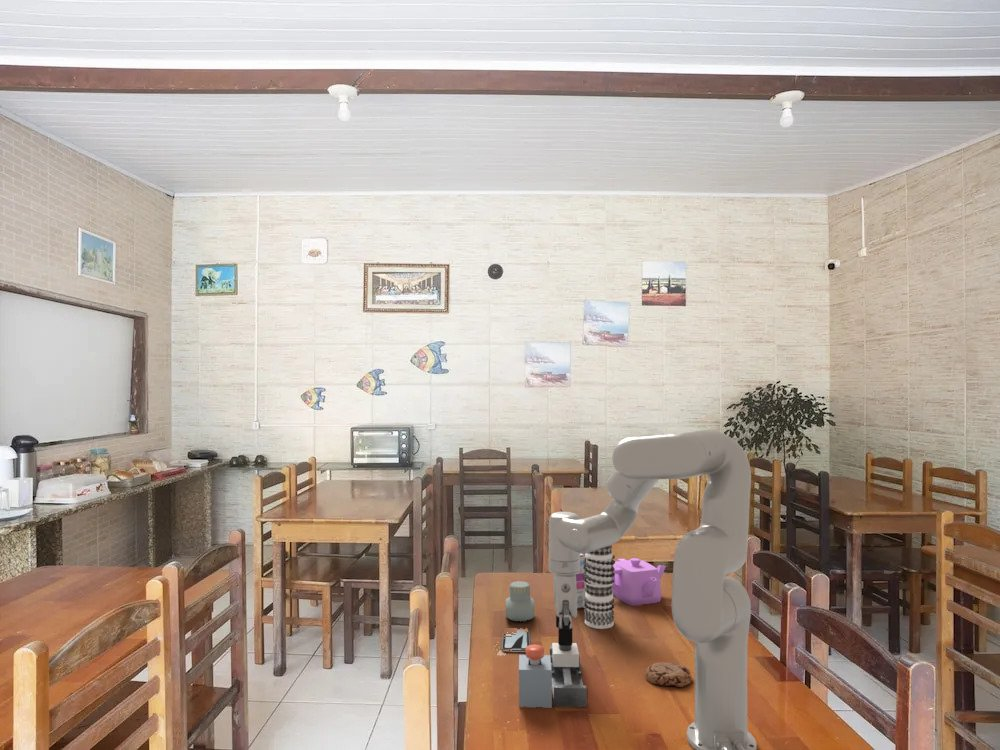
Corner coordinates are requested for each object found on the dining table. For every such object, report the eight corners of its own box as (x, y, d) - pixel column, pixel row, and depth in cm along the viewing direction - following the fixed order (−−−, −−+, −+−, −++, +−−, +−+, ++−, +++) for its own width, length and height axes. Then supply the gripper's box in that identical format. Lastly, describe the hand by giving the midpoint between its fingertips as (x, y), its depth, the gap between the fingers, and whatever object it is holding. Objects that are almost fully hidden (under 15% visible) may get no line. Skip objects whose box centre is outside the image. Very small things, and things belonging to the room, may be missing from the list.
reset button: (544, 678, 129) (544, 652, 129) (525, 678, 129) (525, 652, 130) (543, 669, 133) (543, 644, 133) (525, 669, 133) (525, 644, 134)
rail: (586, 707, 128) (586, 688, 128) (553, 706, 128) (553, 687, 128) (578, 663, 148) (577, 646, 148) (549, 662, 148) (549, 646, 148)
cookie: (637, 674, 143) (637, 661, 143) (674, 666, 147) (673, 654, 147) (662, 694, 134) (662, 680, 134) (701, 685, 137) (700, 672, 137)
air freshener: (534, 625, 171) (534, 590, 171) (505, 625, 171) (505, 590, 171) (533, 611, 182) (533, 578, 182) (506, 611, 182) (506, 578, 182)
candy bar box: (587, 608, 184) (587, 554, 184) (573, 611, 182) (573, 557, 182) (568, 596, 194) (568, 545, 194) (555, 599, 192) (554, 547, 192)
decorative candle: (622, 626, 170) (621, 538, 170) (593, 631, 167) (593, 541, 167) (604, 614, 179) (604, 531, 179) (577, 619, 175) (577, 534, 175)
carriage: (581, 673, 140) (581, 628, 140) (550, 673, 140) (550, 628, 140) (579, 661, 146) (578, 618, 146) (549, 661, 146) (549, 618, 146)
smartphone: (529, 627, 169) (530, 649, 154) (529, 630, 169) (530, 653, 154) (503, 627, 169) (501, 649, 154) (503, 630, 169) (501, 653, 154)
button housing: (551, 707, 128) (551, 670, 128) (519, 707, 128) (518, 669, 128) (550, 690, 135) (550, 655, 135) (519, 690, 135) (519, 654, 135)
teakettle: (617, 585, 205) (616, 549, 205) (667, 593, 197) (667, 555, 197) (602, 601, 189) (602, 562, 189) (656, 611, 182) (656, 570, 182)
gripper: (583, 577, 135) (583, 653, 135) (576, 554, 152) (576, 621, 152) (550, 576, 135) (549, 652, 135) (547, 553, 152) (546, 620, 152)
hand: (563, 635), depth 143 cm, fingers open, 9 cm apart
